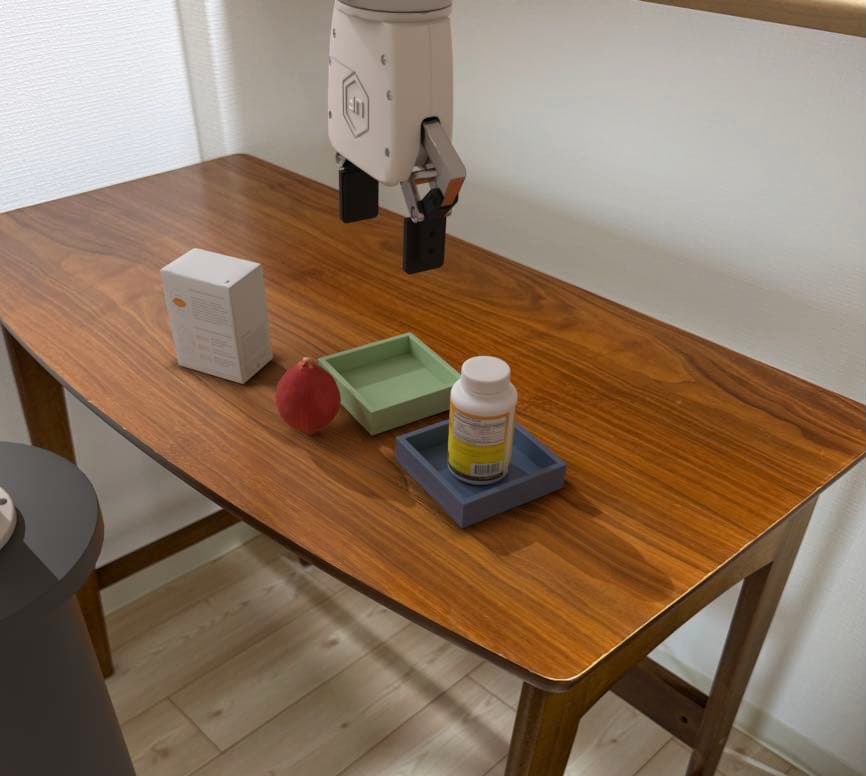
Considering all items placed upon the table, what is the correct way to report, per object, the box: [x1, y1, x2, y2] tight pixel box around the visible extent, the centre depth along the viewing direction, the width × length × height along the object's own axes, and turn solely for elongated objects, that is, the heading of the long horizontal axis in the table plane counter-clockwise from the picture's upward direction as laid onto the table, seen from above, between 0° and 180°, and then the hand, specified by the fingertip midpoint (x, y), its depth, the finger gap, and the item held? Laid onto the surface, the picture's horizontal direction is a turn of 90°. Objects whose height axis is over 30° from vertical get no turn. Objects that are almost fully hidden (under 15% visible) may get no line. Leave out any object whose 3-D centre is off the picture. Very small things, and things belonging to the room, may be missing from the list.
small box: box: [159, 247, 274, 385], centre depth 88 cm, size 8×6×10 cm
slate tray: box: [395, 418, 568, 529], centre depth 79 cm, size 11×11×3 cm
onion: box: [274, 356, 341, 435], centre depth 81 cm, size 6×6×8 cm
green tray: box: [317, 331, 461, 436], centre depth 88 cm, size 11×11×3 cm
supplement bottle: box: [448, 355, 519, 485], centre depth 76 cm, size 6×6×10 cm
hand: (389, 243), depth 68 cm, fingers open, 9 cm apart
